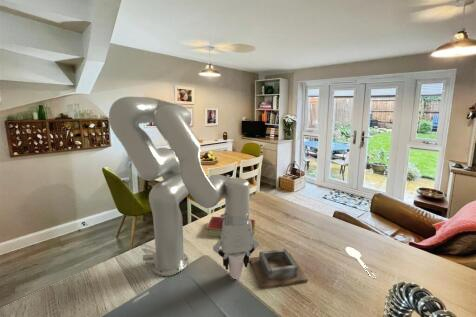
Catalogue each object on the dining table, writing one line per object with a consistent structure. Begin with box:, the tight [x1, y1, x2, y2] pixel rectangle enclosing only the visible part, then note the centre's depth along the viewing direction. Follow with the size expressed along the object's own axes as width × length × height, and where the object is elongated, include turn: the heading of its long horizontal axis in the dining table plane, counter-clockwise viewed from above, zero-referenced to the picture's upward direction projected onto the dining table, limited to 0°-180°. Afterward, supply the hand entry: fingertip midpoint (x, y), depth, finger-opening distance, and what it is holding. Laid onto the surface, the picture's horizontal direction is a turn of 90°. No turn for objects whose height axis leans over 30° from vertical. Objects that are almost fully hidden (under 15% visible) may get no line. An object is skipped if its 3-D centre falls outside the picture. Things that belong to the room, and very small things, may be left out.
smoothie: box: [227, 252, 245, 281], centre depth 78 cm, size 6×6×14 cm
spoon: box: [344, 246, 377, 279], centre depth 89 cm, size 5×18×1 cm, turn 2°
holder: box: [249, 248, 309, 289], centre depth 82 cm, size 16×14×4 cm
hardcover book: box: [205, 216, 256, 238], centre depth 108 cm, size 12×21×4 cm, turn 84°
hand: (235, 265), depth 79 cm, fingers closed on smoothie, 5 cm apart
